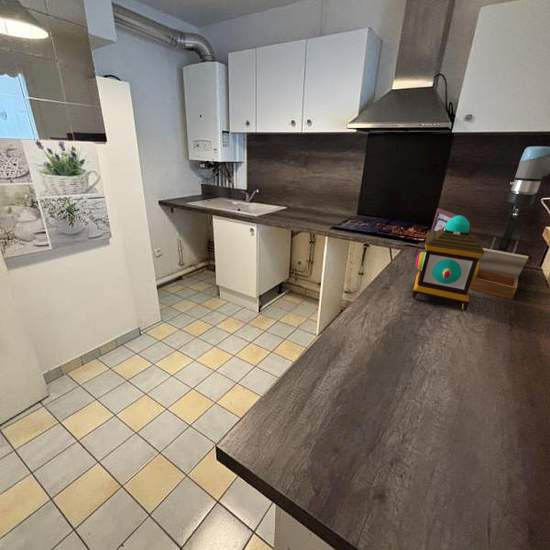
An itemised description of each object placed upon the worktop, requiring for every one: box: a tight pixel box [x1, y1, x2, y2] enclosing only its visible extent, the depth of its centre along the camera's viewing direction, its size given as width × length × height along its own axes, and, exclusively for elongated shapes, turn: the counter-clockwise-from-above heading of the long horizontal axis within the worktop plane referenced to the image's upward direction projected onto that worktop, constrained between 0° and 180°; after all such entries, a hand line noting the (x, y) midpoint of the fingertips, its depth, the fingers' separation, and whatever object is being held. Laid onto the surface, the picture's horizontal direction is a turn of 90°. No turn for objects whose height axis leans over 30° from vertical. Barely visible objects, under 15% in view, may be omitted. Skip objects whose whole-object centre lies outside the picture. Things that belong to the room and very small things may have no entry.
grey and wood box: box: [478, 232, 529, 278], centre depth 115 cm, size 14×16×10 cm
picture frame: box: [424, 207, 459, 252], centre depth 136 cm, size 17×10×25 cm, turn 178°
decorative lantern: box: [411, 214, 484, 311], centre depth 103 cm, size 20×20×30 cm
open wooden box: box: [469, 269, 519, 301], centre depth 116 cm, size 14×16×5 cm
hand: (500, 254), depth 115 cm, fingers closed on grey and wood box, 2 cm apart
